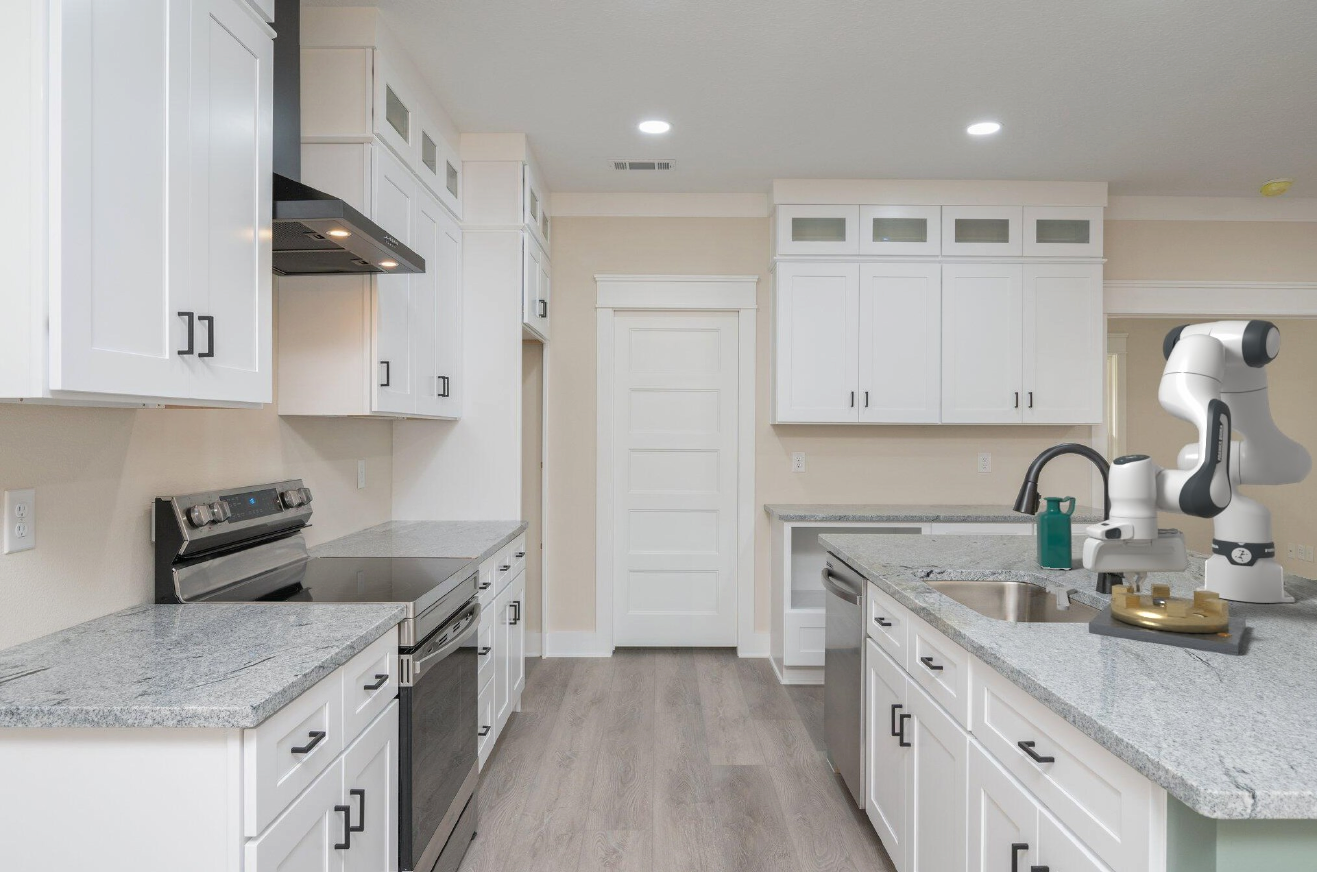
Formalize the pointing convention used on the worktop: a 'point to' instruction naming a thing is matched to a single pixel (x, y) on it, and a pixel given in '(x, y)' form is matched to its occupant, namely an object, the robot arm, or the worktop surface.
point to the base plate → (1172, 634)
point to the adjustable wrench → (1061, 595)
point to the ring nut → (1170, 610)
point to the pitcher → (1055, 534)
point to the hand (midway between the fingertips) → (1135, 592)
